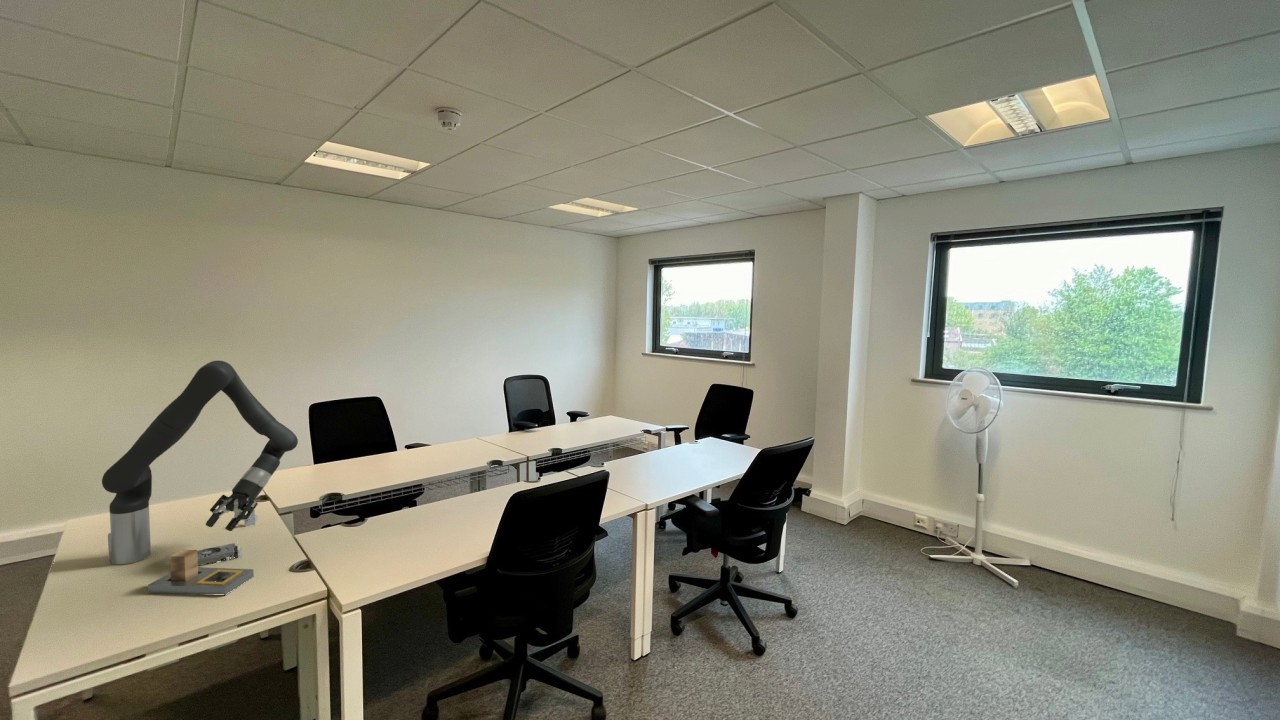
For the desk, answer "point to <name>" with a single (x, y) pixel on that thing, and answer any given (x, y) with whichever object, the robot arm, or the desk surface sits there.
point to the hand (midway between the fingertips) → (218, 528)
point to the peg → (184, 565)
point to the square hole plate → (203, 582)
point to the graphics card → (219, 553)
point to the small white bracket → (251, 519)
